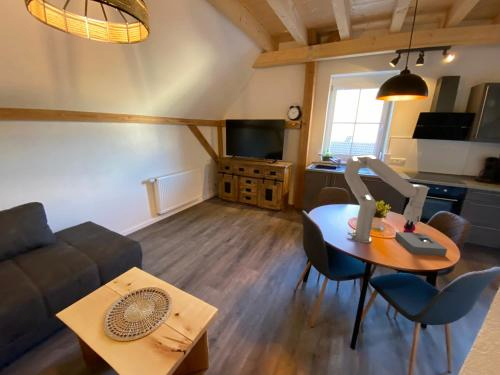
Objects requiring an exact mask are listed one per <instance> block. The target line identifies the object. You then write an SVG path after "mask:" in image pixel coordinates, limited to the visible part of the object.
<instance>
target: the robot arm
mask: <svg viewBox="0 0 500 375" xmlns="http://www.w3.org/2000/svg"><path fill="white" fill-rule="evenodd" d="M361 169H369V170H370V171H371V172H372V173H374V174H375V175H376V176H377V177H379V178H380V179H381V180H382V181H384V182H385V183H386V184H387V185H389V186H391V187H392V188H394V189H395V191H396V190H397V191H398V192H399V193H400V194H402V196H404V197H406V198H409V199H408V200H409V201H408V204H406V207H405V209H404V211H403V217H404V218H405V219H406V221H405V224H406V227H405V229H407V230H411V229H412V226H413V225H414V224H415V226H416V225H418V223H420V220H421V217H422V214H423V207H424V205H425V201H426V198H427V195H428V191H429V187H428V186H427V185H424V184H414V183H410V182H409V181H407V180H406V179H405V178H404V177H402V176H401V175H400V174H399V173H398V172H397V171H396V170H394V169H393V168H392V167H390V166H389V165H388V164H386V162H384V161H383V160H381V159H379V158H378V157H376V156H375V155H364V156H363V155H362V156H360V155H359V156H351V157H349V158H348V159H347V160H346V167H345V169H344V172H343V174H344V179H345V180H346V182H347V184H348V186H349V188H350V191H351V192H352V194H353V195H354V197H355V198H356V200H357V201H358V203H359V210H358V213H357V214H358V215H357V219H356V225H355V230H353V231H352V232H351V231H348V232H347V235H348V236H351V237H352V240H355V241H357V242H359V243H364V244H370V243H371V242H372V238H371V232H372V226H373V220H374V217H375V216H374V215H375V212H376V210H377V202H376V200H375V199H374V197H373V196H372V195H371V193H370V191H369V189H368V187H367V186H366V184H365V183H364V182H363V180H362V179H361V176H360V174H359V171H360V170H361Z"/></svg>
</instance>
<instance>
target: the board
mask: <svg viewBox="0 0 500 375" xmlns="http://www.w3.org/2000/svg"><path fill="white" fill-rule="evenodd" d="M394 239H395V240H396V241H397V242H398V243H399V244H400V245H402V246H403V247H404V248H405V249H406V251H408V252H409V253H411V255H412V254H413V255H421V256H422V255H424V256H425V255H427V256H439V257H440V256H441V257H446V255H447V253H448V248H447V247H445V246H444V245H442V244H441V243H440V242H438V241H437V240H435V239H434V238H432V237H431V236H429V235H428V234H426V233H419V232H417V233H416V232H414V233H404V232H403V231H402V232H400V231H396V232H395V236H394ZM423 240H427V241H429V242H430V243H423V242H422V241H423Z"/></svg>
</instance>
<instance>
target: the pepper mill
mask: <svg viewBox="0 0 500 375" xmlns="http://www.w3.org/2000/svg"><path fill="white" fill-rule="evenodd" d="M405 227H406V223H404V224H403V231H402V232H403V233H415V231H416V224H414V225H413V226H412V229H411V230H407V229H405Z"/></svg>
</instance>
